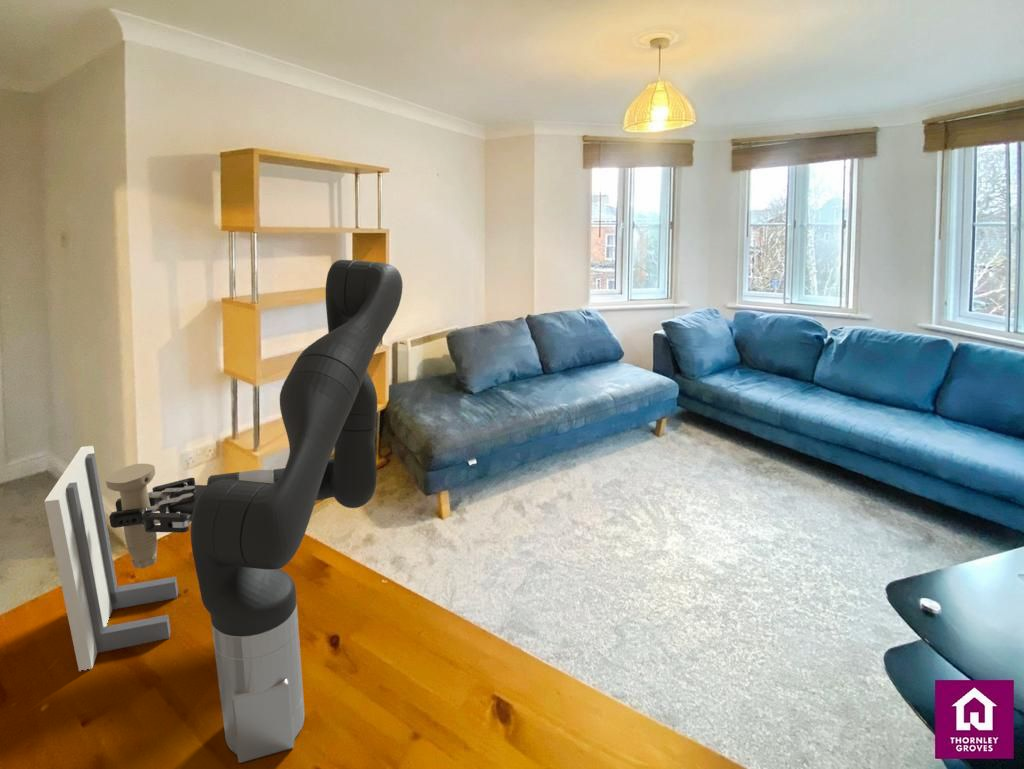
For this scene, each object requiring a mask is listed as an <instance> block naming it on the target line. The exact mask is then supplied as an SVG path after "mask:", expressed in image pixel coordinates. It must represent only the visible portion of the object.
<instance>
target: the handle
mask: <svg viewBox="0 0 1024 769" xmlns="http://www.w3.org/2000/svg"><path fill="white" fill-rule="evenodd" d="M155 475H156V468H155V465H153V464H151V463H135V464H134V463H133V464H131V465H127V466H124V467H122V468H119V469H117V470H116V471H114V472H112V473H110V474H109V475H108V476H107V477H106V478H105V484H106V488H108V489H109V490H111V491H114V492H119V495H120V498H121V504H122V511H123V510H130V509H138V508H140V509H142V508H145V507H150V501H149V497H148V493H149V492H148V488H147V485H149V484H150V483H151V481H152V480H154V479H153V478H154V477H155ZM123 533H124V539H125V545H126V548H127V550H128V554H129V557H130V558H131V565H132V566H133V567H134V568H136V569H137V568H139V569H142V570H143V569H146V568H148V567H150V566H154V565H155V564H156V562H157V559H158V539H157V532H146V531H145V527H144V526H142V524H138V525H131V526H124V527H123Z"/></svg>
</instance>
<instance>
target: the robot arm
mask: <svg viewBox="0 0 1024 769" xmlns="http://www.w3.org/2000/svg"><path fill="white" fill-rule="evenodd" d="M402 294H403V279H402V275H401V273H400V271H399V269H397V268H396V267H395V266H394V265H392V264H389V263H387V262H379V261H368V260H367V261H366V260H352V259H338V260H336V261H334V262H333V263H332V264H331V266H330V267H329V270H328V272H327V275H326V282H325V309H326V322H327V331H328V332H327V333H326V334H325V335H323V336H321V337H320V338H318V339H316V340H315V341H313V343H311V344H310V345H308V346H307V347H306V348H305V349H304V350H303V351H302V352H301V354H299V355H298V357H297V359H296V361H295V362H294V364H293V365H292V367H291V369H290V371H289V373H288V374H287V377H286V378H285V380H284V382H283V384H282V387H281V390H280V393H279V410H280V414H281V419H282V422H283V426H284V429H285V432H286V437H287V440H288V444H289V445H288V446H289V453H288V454H289V455H288V458H287V461H286V465H285V467H283V468H276V469H253V470H252V469H251V470H246V471H245V470H244V471H236V472H227V473H220V474H212V475H210V476H208V478H207V480H206V481H207V482H206V484H196V478H195V477H188V478H183V479H180V480H176V481H172V482H168V483H165V484H161V485H156V486H154V487H152V491H150V492H148V497H149V501H150V507H145V508H142V509H140V508H138V509H130V510H123V511H122V504H121V497H120V498H118V499H117V500H116V501H115V509H116V511H111V512H110V515H109V519H108V520H109V524H110V527H111V528H113V529H115V528H116V529H117V528H124V526H131V525H138V524H142V526H144V527H145V531H146V532H156V533H181V534H183V533H186V532H188V531H189V530H190V545H191V551H192V556H193V562H194V567H195V571H196V572H195V573H196V576H197V582H198V588H199V592H200V597H201V598H200V599H201V601H202V604H203V606H204V608H205V609H206V611H207V612H208V613H209V615H210V622H211V629H212V630H211V631H212V638H213V647H214V648H213V649H214V656H215V663H216V670H217V671H216V672H217V681H218V688H219V689H218V690H219V697H220V705H221V715H222V720H223V721H222V722H223V728H224V735H225V736H224V737H225V742H226V745H227V747H228V748H229V749H230V751H231V752H233V753H234V754H235V755H237V762H238V763H239V764H240V763H244V762H248V761H251V760H255V759H259V758H262V757H265V756H270V755H272V754H276V753H280V752H283V751H286V750H290V749H293V748H294V747H295V740H296V738H297V736H298V735H299V733H300V732H301V730H302V728H303V726H304V723H305V702H304V701H305V699H304V688H303V674H302V672H303V671H302V659H301V646H300V632H299V630H300V629H299V616H298V605H297V604H298V603H297V602H298V601H297V590H296V584H295V581H294V580H293V578H292V577H291V575H290V574H288V573H287V572H286V571H284V569H283V570H282V569H281V568H284V567H285V566H286V565H287V564H289V563H290V562H291V561H292V559H293V558H294V556H295V555H296V553H297V551H298V550H299V547H300V546H301V544H302V542H303V540H304V537H305V534H306V531H307V530H308V529H307V528H308V526H309V522H310V519H311V516H312V513H313V510H314V507H315V504H316V502H318V501H322V500H327V499H330V498H334V499H335V501H336V502H337V503H338V504H339V505H341V506H343V507H344V508H348V509H358V508H360V507H363V506H365V505H366V504H367V503H369V501H371V499H372V498H373V496H374V495H375V492H376V488H377V480H378V479H377V474H378V473H377V472H378V471H377V455H376V454H377V453H376V432H377V419H378V394H377V391H376V387H375V385H374V384H375V383H374V382H373V379H372V378H371V375H370V373H369V371H368V368H369V366H370V363H371V361H372V358H373V356H374V354H375V352H376V350H377V348H378V346H379V344H380V343H381V340H382V338H384V335H385V334H386V332H387V330H388V328H389V327H390V325H391V323H392V321H393V320H394V318H395V316H396V314H397V311H398V309H399V306H400V303H401V300H402ZM333 451H334V454H333V457H331V456H332V453H333ZM189 525H190V527H189Z"/></svg>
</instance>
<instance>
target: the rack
mask: <svg viewBox="0 0 1024 769" xmlns="http://www.w3.org/2000/svg"><path fill="white" fill-rule="evenodd" d="M96 459H97V458H96V454H95V449H94V445H86V446H81V447H80V448H79V449H78V451H77V452H76V454H75V456H74V457H73V458H72V460H71V462H70V463H69V464H68V466H67V467H66V468H65V470H64V472H63V473H62V474H61V476H60V478H59V479H58V480H57V482H56V483H55V485H54V486H53V488H52V489H51V491H50V492H49V494H48V495H47V497H46V498H45V499H44V505H45V506H44V507H45V511H46V512H45V513H46V517H47V522H48V526H49V532H50V537H51V540H52V541H51V542H52V545H53V546H52V547H53V551H54V556H55V560H56V566H57V571H58V575H59V579H60V580H59V581H60V585H61V590H62V594H63V595H62V596H63V600H64V606H65V609H66V613H67V614H66V615H67V620H68V624H69V628H70V635H71V639H72V643H73V644H72V645H73V647H74V648H73V649H74V653H75V654H74V655H75V658H76V663H77V667H78V672H82V671H81V670H84V671H88V670H87V669H89V670H92V669H93V666H94V664H95V662H96V658H97V655H98V654H99V653H104V652H109V651H113V650H119V649H123V648H124V649H125V648H129V647H134V646H138V645H143V643H144V644H148V642H149V643H153V641H154V642H158V641H157V640H159V641H163V639H164V640H168V639H170V637H171V625H170V617H169V614H164V615H159V616H154V617H149V618H143V619H137V620H133V621H126V622H123V623H117V624H112V625H108V624H109V621H108V620H110V618H109V617H111V614H112V612H113V610H118V608H119V609H122V608H123V609H125V608H128V607H134V606H140V605H145V604H146V605H147V604H150V603H152V604H153V603H156V602H157V603H158V602H161V601H167V600H172V599H173V600H174V599H177V598H178V596H179V595H178V594H179V588H178V582H177V581H178V580H177V576H173V577H172V576H170V577H165V578H160V579H155V580H146V581H142V582H135V583H129V584H125V585H118V583H117V576H116V575H117V574H116V570H115V565H114V564H115V563H114V559H113V553H112V546H111V541H110V535H109V530H108V525H107V524H108V523H107V518H106V512H105V507H104V502H103V494H102V488H101V483H100V477H99V472H98V467H97V460H96ZM107 623H108V624H107Z"/></svg>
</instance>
